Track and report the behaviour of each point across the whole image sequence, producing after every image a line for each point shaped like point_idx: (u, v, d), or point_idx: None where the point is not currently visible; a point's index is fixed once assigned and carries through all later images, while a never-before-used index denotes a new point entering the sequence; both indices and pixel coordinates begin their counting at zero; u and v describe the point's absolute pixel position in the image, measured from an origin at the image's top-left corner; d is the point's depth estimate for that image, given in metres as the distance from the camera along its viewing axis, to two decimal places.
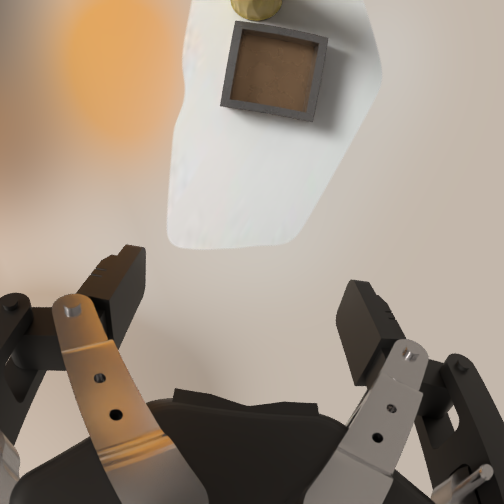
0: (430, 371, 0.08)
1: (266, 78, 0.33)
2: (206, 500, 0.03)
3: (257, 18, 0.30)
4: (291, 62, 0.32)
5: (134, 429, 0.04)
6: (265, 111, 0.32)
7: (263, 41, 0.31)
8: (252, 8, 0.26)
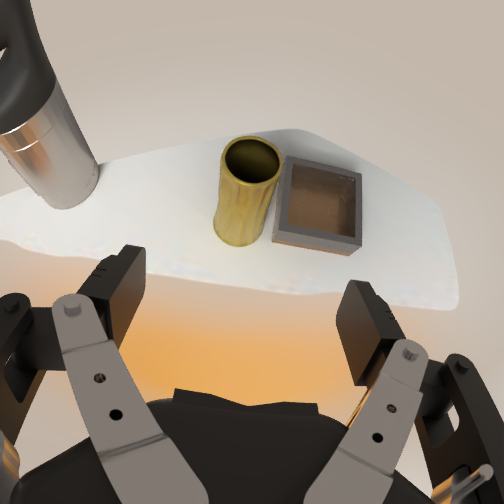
0: (430, 371, 0.08)
1: (323, 215, 0.40)
2: (206, 500, 0.03)
3: None
4: (305, 194, 0.41)
5: (133, 429, 0.04)
6: (360, 209, 0.38)
7: (287, 216, 0.40)
8: None
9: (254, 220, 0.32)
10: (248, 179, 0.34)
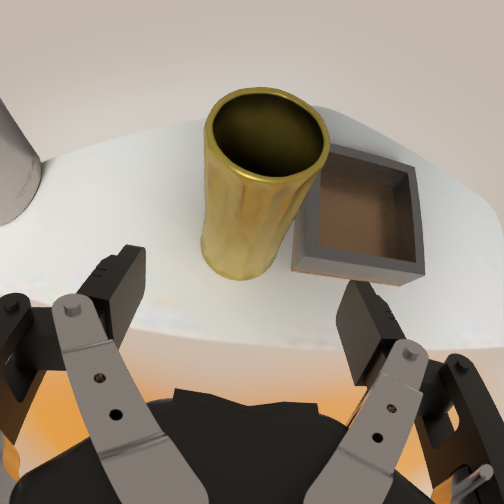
0: (430, 371, 0.08)
1: (364, 227, 0.27)
2: (206, 500, 0.03)
3: None
4: (337, 196, 0.27)
5: (133, 429, 0.04)
6: (419, 218, 0.24)
7: None
8: None
9: (269, 243, 0.18)
10: (255, 173, 0.20)
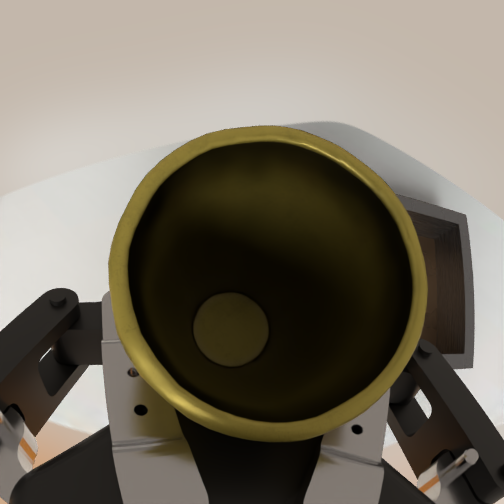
0: None
1: None
2: None
3: None
4: None
5: (154, 426, 0.05)
6: (472, 290, 0.17)
7: None
8: None
9: None
10: (252, 258, 0.12)
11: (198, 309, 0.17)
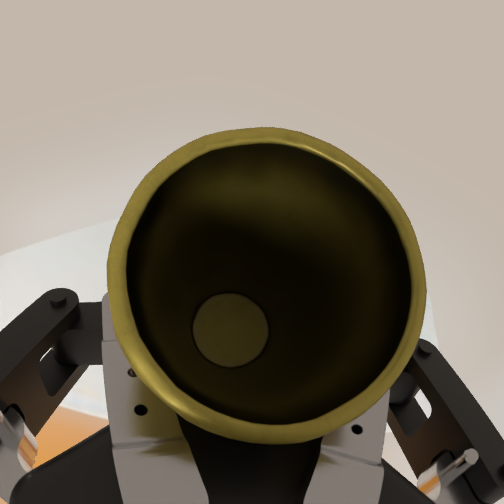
0: None
1: None
2: None
3: None
4: None
5: (155, 427, 0.05)
6: None
7: None
8: None
9: None
10: (251, 259, 0.12)
11: (198, 310, 0.17)
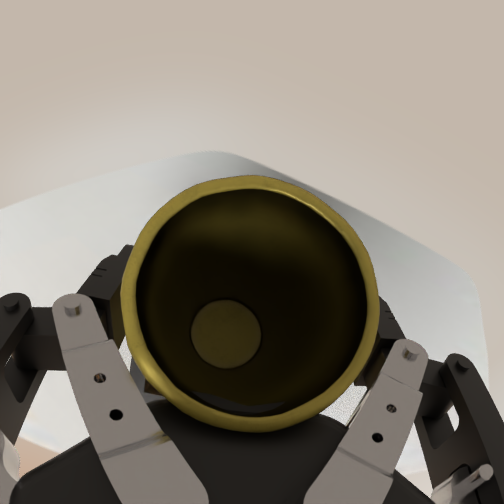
0: (430, 371, 0.08)
1: None
2: (206, 500, 0.03)
3: None
4: None
5: (133, 429, 0.04)
6: None
7: None
8: None
9: None
10: (243, 273, 0.13)
11: (196, 315, 0.19)
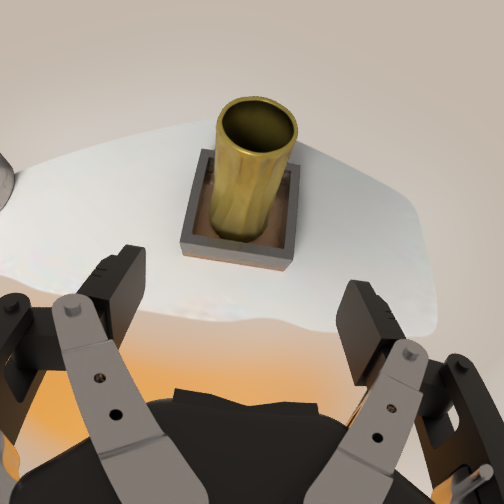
0: (430, 371, 0.08)
1: None
2: (206, 500, 0.03)
3: None
4: None
5: (133, 429, 0.04)
6: (295, 210, 0.30)
7: (203, 222, 0.32)
8: None
9: (260, 206, 0.25)
10: None
11: None
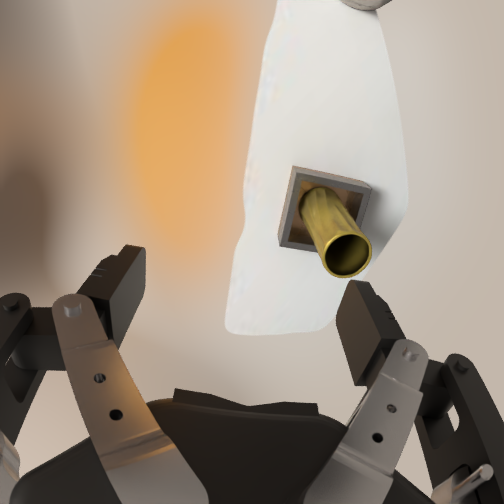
0: (430, 371, 0.08)
1: None
2: (206, 500, 0.03)
3: None
4: None
5: (133, 429, 0.04)
6: (315, 251, 0.43)
7: (315, 182, 0.42)
8: None
9: None
10: None
11: None
